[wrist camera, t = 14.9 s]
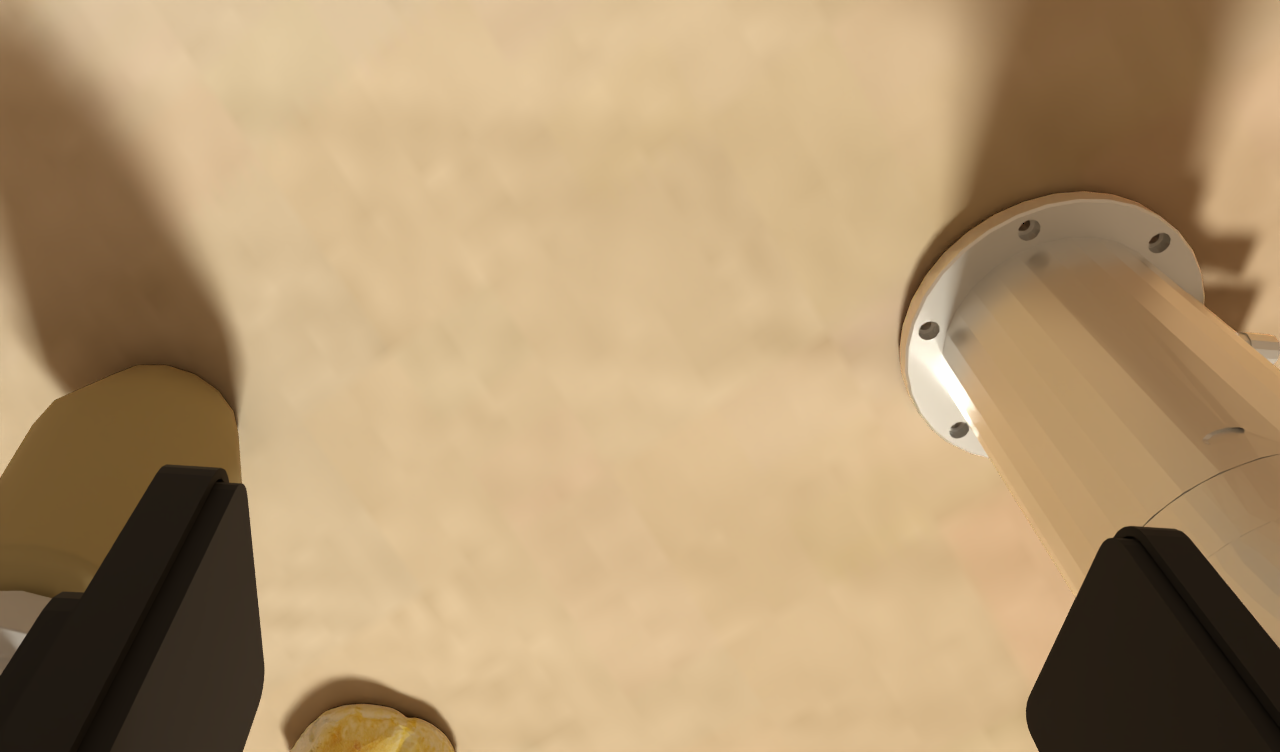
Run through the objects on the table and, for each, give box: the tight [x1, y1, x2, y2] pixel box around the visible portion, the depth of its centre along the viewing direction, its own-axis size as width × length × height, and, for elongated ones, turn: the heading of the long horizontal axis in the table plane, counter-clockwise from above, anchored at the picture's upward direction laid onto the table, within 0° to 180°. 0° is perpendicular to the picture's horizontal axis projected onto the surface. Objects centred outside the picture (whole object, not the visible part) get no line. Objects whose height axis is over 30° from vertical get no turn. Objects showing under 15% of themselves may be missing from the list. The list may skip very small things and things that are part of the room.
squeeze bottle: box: [0, 365, 242, 675], centre depth 35 cm, size 8×8×18 cm
